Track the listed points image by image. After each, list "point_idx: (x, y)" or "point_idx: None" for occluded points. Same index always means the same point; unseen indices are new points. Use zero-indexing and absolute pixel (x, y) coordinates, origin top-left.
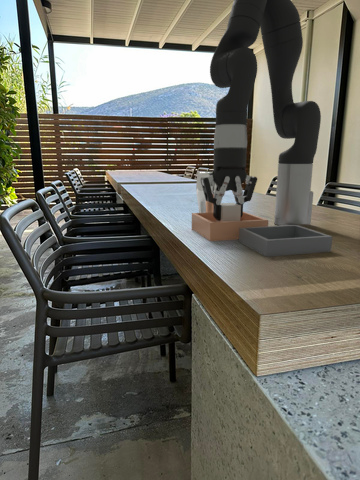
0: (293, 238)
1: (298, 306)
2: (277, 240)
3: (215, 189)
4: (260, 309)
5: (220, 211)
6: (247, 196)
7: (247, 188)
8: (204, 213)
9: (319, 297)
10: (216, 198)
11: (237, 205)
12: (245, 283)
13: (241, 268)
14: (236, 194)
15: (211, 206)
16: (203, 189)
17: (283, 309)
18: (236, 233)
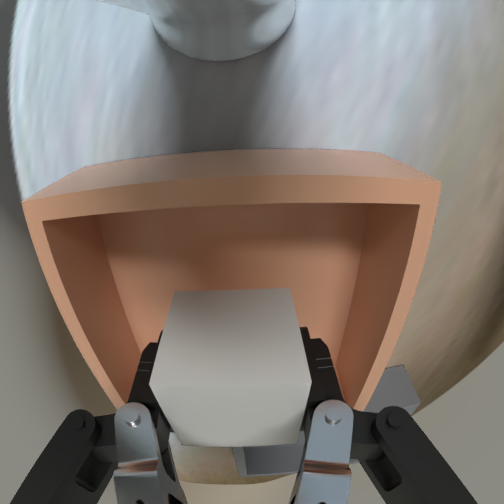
0: (296, 472)
1: (211, 482)
2: (261, 475)
3: (117, 495)
4: (179, 479)
5: None
6: (363, 465)
7: (400, 495)
8: (97, 213)
9: (239, 480)
10: (139, 444)
11: (273, 444)
12: (180, 465)
13: (187, 450)
14: (294, 485)
15: (201, 17)
16: (37, 475)
17: (197, 482)
18: None
